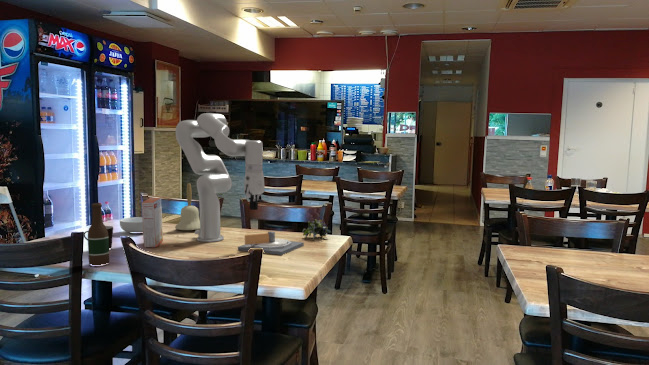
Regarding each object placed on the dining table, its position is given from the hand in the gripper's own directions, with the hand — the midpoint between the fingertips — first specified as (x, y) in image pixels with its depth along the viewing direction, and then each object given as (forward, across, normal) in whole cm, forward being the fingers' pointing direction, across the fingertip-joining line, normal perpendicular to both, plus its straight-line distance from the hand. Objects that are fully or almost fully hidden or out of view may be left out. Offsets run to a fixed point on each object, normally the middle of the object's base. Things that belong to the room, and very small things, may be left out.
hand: (253, 209), depth 222 cm
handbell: (+19, +20, +53) cm, 60 cm away
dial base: (+17, +2, -8) cm, 19 cm away
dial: (+15, 0, -6) cm, 17 cm away
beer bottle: (+18, -51, +38) cm, 66 cm away
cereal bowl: (+19, +3, +73) cm, 76 cm away
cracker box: (+18, -15, +45) cm, 51 cm away
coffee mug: (+19, -33, +58) cm, 69 cm away
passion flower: (+17, +29, -17) cm, 38 cm away
